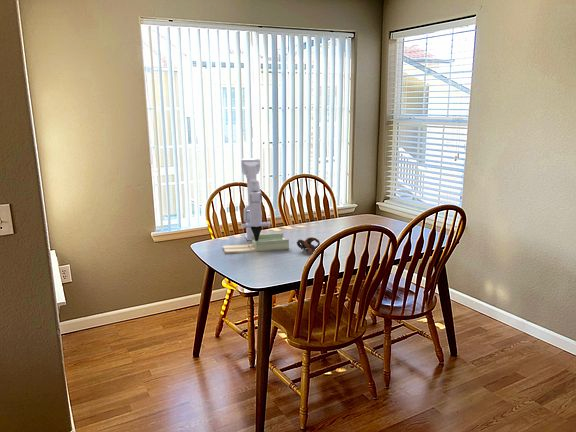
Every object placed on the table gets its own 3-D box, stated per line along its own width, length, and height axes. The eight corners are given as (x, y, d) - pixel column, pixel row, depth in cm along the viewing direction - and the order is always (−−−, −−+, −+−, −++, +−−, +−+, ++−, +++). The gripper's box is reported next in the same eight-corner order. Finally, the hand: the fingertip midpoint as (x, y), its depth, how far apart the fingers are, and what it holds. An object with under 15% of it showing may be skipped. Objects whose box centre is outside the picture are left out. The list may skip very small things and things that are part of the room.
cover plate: (222, 248, 255) (222, 245, 254) (252, 246, 258) (251, 243, 258) (225, 255, 244) (225, 251, 244) (255, 252, 248) (255, 249, 247)
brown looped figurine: (318, 249, 252) (322, 237, 246) (316, 262, 245) (320, 250, 239) (296, 243, 252) (299, 231, 247) (293, 256, 245) (296, 244, 239)
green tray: (251, 244, 259) (251, 235, 258) (283, 242, 263) (282, 232, 262) (256, 251, 247) (255, 242, 246) (288, 249, 251) (288, 239, 250)
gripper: (242, 217, 244) (243, 243, 247) (271, 215, 247) (271, 241, 250) (240, 214, 250) (241, 240, 254) (268, 212, 254) (269, 237, 257)
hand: (256, 240), depth 252 cm, fingers closed
